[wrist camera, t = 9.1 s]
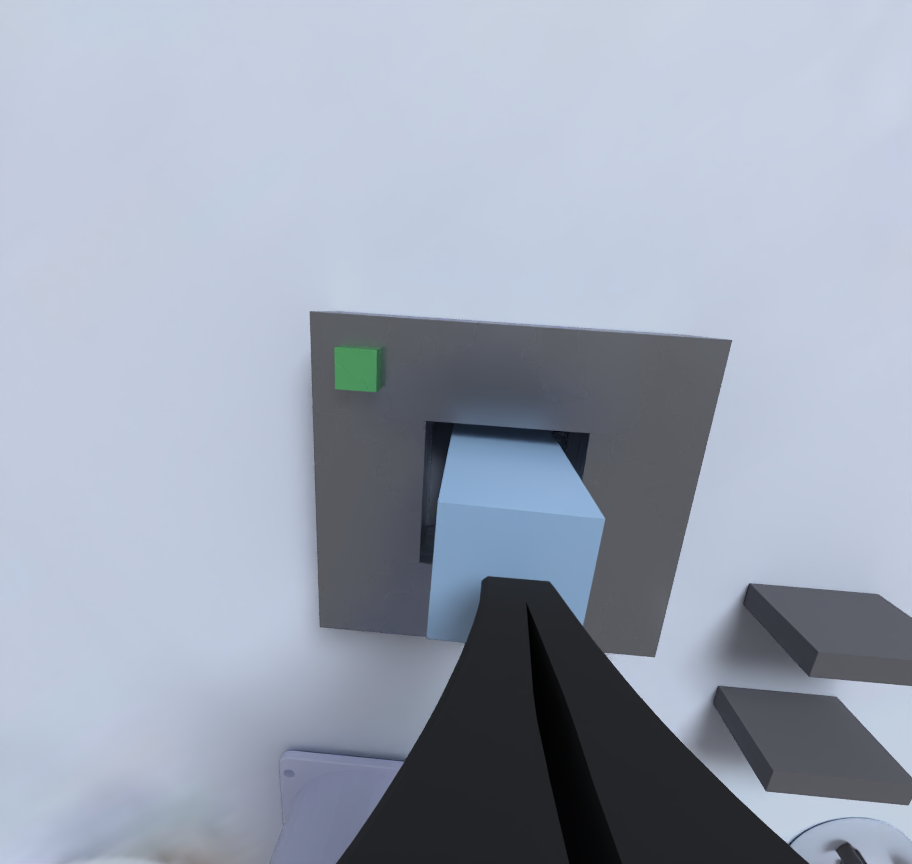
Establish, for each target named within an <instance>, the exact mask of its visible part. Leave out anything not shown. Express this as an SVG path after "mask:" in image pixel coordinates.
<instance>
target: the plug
mask: <svg viewBox="0 0 912 864" xmlns="http://www.w3.org/2000/svg"><path fill="white" fill-rule="evenodd" d="M604 523H605V518H604V516H603V514H602V513H601V511H600V510H599V508H598V506H597V505H596V503H595V502H594V500H593V498H592V497H591V495H590V494H589V492H588V490H587V489H586V487H585V486H584V484H583V482H582V481H581V479H580V477H579V476H578V474H577V473H576V471H575V469H574V468H573V466H572V465H571V463H570V461H569V460H568V458H567V457H566V455H565V453H564V452H563V450H562V448H561V447H560V445H559V444H558V442H557V440H556V439H555V437H554V436H553V434H552V432H551V431H550V430H541V429H527V428H514V427H501V426H487V425H474V424H461V423H454V425H453V430H452V435H451V440H450V445H449V449H448V454H447V459H446V464H445V469H444V474H443V479H442V484H441V489H440V494H439V498H438V505H437V517H436V530H435V542H434V554H433V566H432V578H431V590H430V602H429V614H428V626H427V638H426V639H434V640H443V641H452V642H462V643H466V641H467V638H468V635H469V633H470V630H471V627H472V625H473V622H474V619H475V615H476V612H477V609H478V605H479V601H480V591H481V581H482V580H483V579H484V578H486V577H487V576H493V577H505V578H517V579H528V580H540V581H550V582H551V584H552V585H553V586H554V587H555V589H556V590H557V591H558V593H559V594H560V596H561V597H562V598H563V600H564V601H565V602H566V604H567V605H568V607H569V608H570V609H571V611H572V612H573V613H574V615H575V616H576V618H577V619H578V620H579V622H580V623H581V624H582V626H583V623H584V619H585V614H586V609H587V604H588V599H589V595H590V590H591V585H592V580H593V575H594V571H595V566H596V561H597V556H598V551H599V547H600V542H601V537H602V532H603V527H604Z"/></svg>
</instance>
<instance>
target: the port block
mask: <svg viewBox="0 0 912 864" xmlns="http://www.w3.org/2000/svg"><path fill="white" fill-rule="evenodd" d="M310 334H311V365H312V396H313V428H314V459H315V491H316V522H317V554H318V585H319V616H320V627H324V628H335V629H347V630H358V631H369V632H380V633H391V634H402V635H413V636H425V637H427V626H428V614H429V602H430V590H431V578H432V566H433V554H434V542H435V530H436V526H428V515H429V495H430V475H431V456H432V436H433V421H434V422H447V423H461V424H474V425H487V426H501V427H514V428H527V429H541V430H554V431H567V432H569V434H568V441H567V447H566V454H565V455H566V457H567V458H568V460H569V461H570V463H571V465H572V466H573V468H574V469H575V471H576V473H577V474H578V476H579V477H580V479H581V481H582V482H583V484H584V486H585V487H586V489H587V490H588V492H589V494H590V495H591V497H592V498H593V500H594V502H595V503H596V505H597V506H598V508H599V510H600V511H601V513H602V514H603V516H604V518H605V523H604V527H603V532H602V537H601V542H600V547H599V551H598V556H597V561H596V566H595V571H594V575H593V580H592V585H591V590H590V595H589V599H588V604H587V609H586V614H585V619H584V623H583V627H584V628H585V630H586V631H587V632H588V633H589V635H590V636H591V637H592V639H593V640H594V641H595V643H596V644H597V645H598V646H599V648H600V649H601V650H602V651H603V653H614V654H625V655H636V656H647V657H655V654H656V650H657V646H658V642H659V638H660V634H661V630H662V626H663V622H664V618H665V613H666V609H667V605H668V601H669V597H670V593H671V589H672V585H673V581H674V577H675V572H676V568H677V564H678V560H679V556H680V552H681V548H682V544H683V540H684V535H685V531H686V527H687V523H688V519H689V515H690V511H691V507H692V503H693V499H694V494H695V490H696V486H697V482H698V478H699V474H700V470H701V466H702V462H703V458H704V453H705V449H706V445H707V441H708V437H709V433H710V429H711V425H712V421H713V416H714V412H715V408H716V404H717V400H718V396H719V392H720V388H721V384H722V380H723V375H724V371H725V367H726V363H727V359H728V355H729V351H730V347H731V343H732V340H726V339H717V338H708V337H699V336H690V335H678V334H663V333H648V332H633V331H619V330H604V329H589V328H574V327H560V326H545V325H530V324H516V323H501V322H486V321H471V320H457V319H442V318H427V317H412V316H398V315H383V314H368V313H353V312H339V311H310Z"/></svg>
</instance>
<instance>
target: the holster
mask: <svg viewBox="0 0 912 864" xmlns="http://www.w3.org/2000/svg"><path fill="white" fill-rule="evenodd" d="M744 606H745V607H746V608H747V609H748V610H749V611H750V612H751V613H752V614H753V615H754V617H755V618H756V619H757V620H758V621H759V622H760V623H761V624H762V625H763V626H764V628H765V629H766V630H767V631H768V632H769V633H770V634H771V635H772V636H773V637H774V639H775V640H776V641H777V642H778V643H779V644H780V645H781V646H782V647H783V648H784V650H785V651H786V652H787V653H788V654H789V655H790V656H791V657H792V658H793V659H794V661H795V662H796V663H797V664H798V665H799V666H800V667H801V668H802V669H803V670H804V672H805V673H806V674H807V675H808V676H809V677H818V678H829V679H840V680H851V681H862V682H873V683H884V684H895V685H906V686H912V618H911V617H910V616H908V615H907V614H906V613H904V612H903V611H901V610H900V609H898V608H897V607H896V606H894V605H893V604H891V603H890V602H889V601H887V600H886V599H884V598H883V597H881V596H880V595H879V594H869V593H857V592H845V591H833V590H821V589H810V588H798V587H786V586H774V585H762V584H750V585H749V588H748V592H747V595H746V598H745V602H744ZM714 706H715V708H716V709H717V711H718V713H719V714H720V716H721V717H722V719H723V721H724V722H725V724H726V726H727V727H728V729H729V731H730V732H731V734H732V736H733V737H734V739H735V741H736V742H737V744H738V746H739V747H740V749H741V751H742V752H743V754H744V756H745V757H746V759H747V761H748V762H749V764H750V766H751V767H752V769H753V771H754V772H755V774H756V776H757V777H758V779H759V781H760V782H761V784H762V786H763V787H764V789H765V791H767V792H778V793H788V794H798V795H808V796H818V797H828V798H839V799H849V800H859V801H869V802H879V803H890V804H900V805H909V803H910V801H911V799H912V777H911V776H910V775H909V774H908V773H907V772H906V771H905V770H904V769H903V768H902V766H901V765H900V764H899V763H898V762H897V761H896V760H895V759H894V758H893V757H892V756H891V755H890V754H889V753H888V751H887V750H886V749H885V748H884V747H883V746H882V745H881V744H880V743H879V742H878V741H877V740H876V739H875V738H874V736H873V735H872V734H871V733H870V732H869V731H868V730H867V729H866V728H865V727H864V726H863V725H862V724H861V723H860V721H859V720H858V719H857V718H856V717H855V716H854V715H853V714H852V713H851V712H850V711H849V710H848V709H847V708H846V706H845V705H844V704H843V703H842V702H841V701H840V700H839V699H838V698H837V697H832V696H821V695H810V694H799V693H789V692H778V691H767V690H756V689H745V688H734V687H723V686H719V687H718V690H717V694H716V697H715V700H714Z"/></svg>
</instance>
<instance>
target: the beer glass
mask: <svg viewBox="0 0 912 864" xmlns="http://www.w3.org/2000/svg"><path fill="white" fill-rule="evenodd" d="M790 847H791V848H793V849H794V850H795V851H796V852H797V853H798V854H799V855H800V856H801V857H803V858H804V859H805V860H806V861H807V862H808V863H809V864H912V841H911V840H910V839H909V838H908V837H907V836H906V835H905V834H904V833H903V832H902V831H900V830H899V829H897V828H896V827H894V826H892V825H889V824H887V823H884V822H881V821H878V820H874V819H867V818H845V819H838V820H833V821H829V822H826V823H823V824H820V825H818V826H815V827H813V828H811V829H809V830H808V831H806V832H804V833H803V834H801V835H800V836H799V837H797V838H796V839H795V840H794V841H793V842H792V843H791V845H790Z"/></svg>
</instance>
